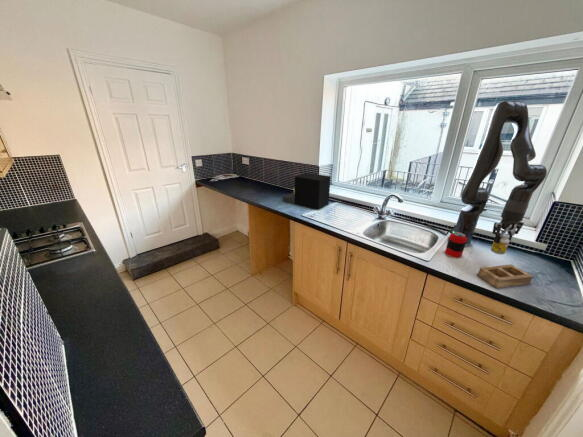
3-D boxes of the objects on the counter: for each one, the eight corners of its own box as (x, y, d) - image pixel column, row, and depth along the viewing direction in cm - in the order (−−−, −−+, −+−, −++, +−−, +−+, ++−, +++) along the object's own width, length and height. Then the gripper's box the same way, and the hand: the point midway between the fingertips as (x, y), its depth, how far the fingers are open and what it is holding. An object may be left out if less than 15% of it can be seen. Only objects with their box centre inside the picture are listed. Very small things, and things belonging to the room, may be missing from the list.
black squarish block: (294, 196, 222) (294, 170, 213) (328, 204, 204) (330, 176, 195) (282, 201, 209) (282, 174, 200) (318, 210, 190) (319, 180, 181)
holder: (477, 275, 114) (480, 267, 112) (508, 271, 116) (511, 264, 115) (496, 288, 105) (500, 280, 103) (529, 283, 108) (533, 276, 106)
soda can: (447, 256, 128) (453, 236, 123) (443, 249, 135) (448, 230, 130) (463, 258, 126) (470, 238, 122) (458, 251, 133) (464, 232, 128)
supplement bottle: (506, 253, 117) (514, 235, 113) (500, 255, 115) (507, 237, 111) (494, 248, 121) (501, 231, 117) (487, 250, 119) (494, 232, 115)
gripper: (519, 205, 113) (506, 237, 120) (493, 207, 111) (481, 239, 118) (537, 211, 107) (521, 244, 113) (509, 213, 104) (496, 247, 111)
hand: (501, 242), depth 116 cm, fingers closed on supplement bottle, 5 cm apart
